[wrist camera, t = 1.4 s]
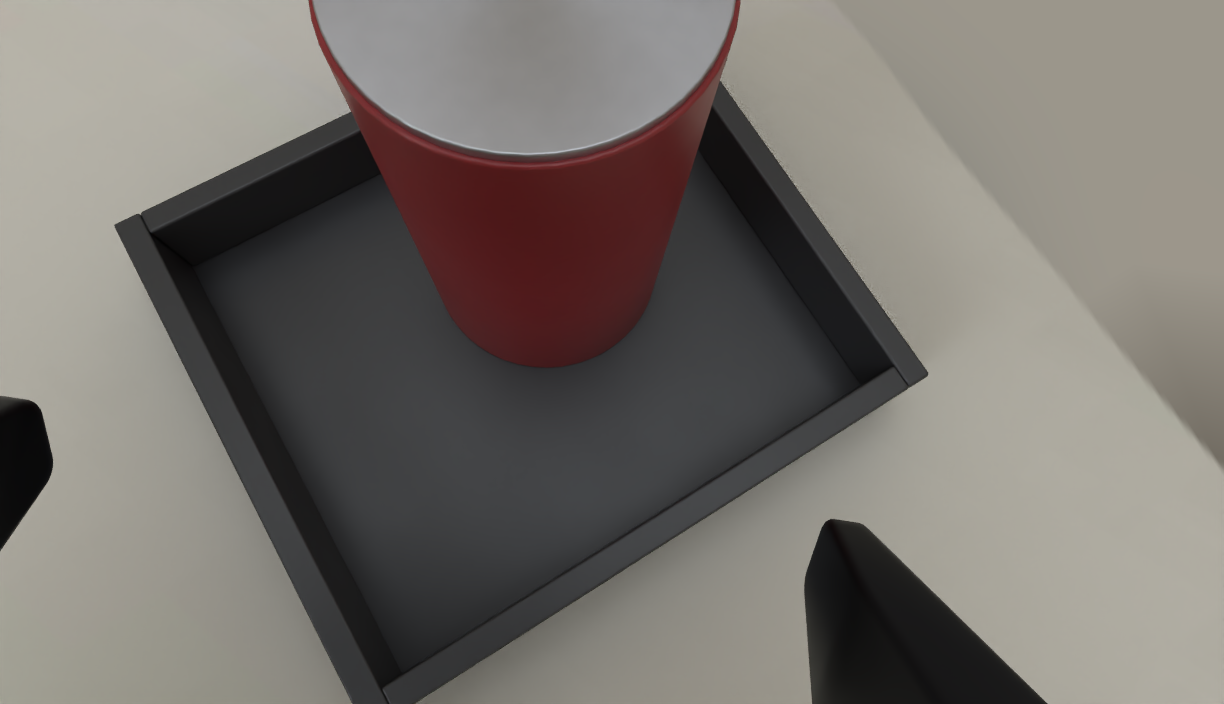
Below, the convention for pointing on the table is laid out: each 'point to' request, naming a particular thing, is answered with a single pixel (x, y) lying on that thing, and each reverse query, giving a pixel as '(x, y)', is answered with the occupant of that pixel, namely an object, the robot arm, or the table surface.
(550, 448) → the tray
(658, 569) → the table surface
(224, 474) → the table surface
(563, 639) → the table surface
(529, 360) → the can
